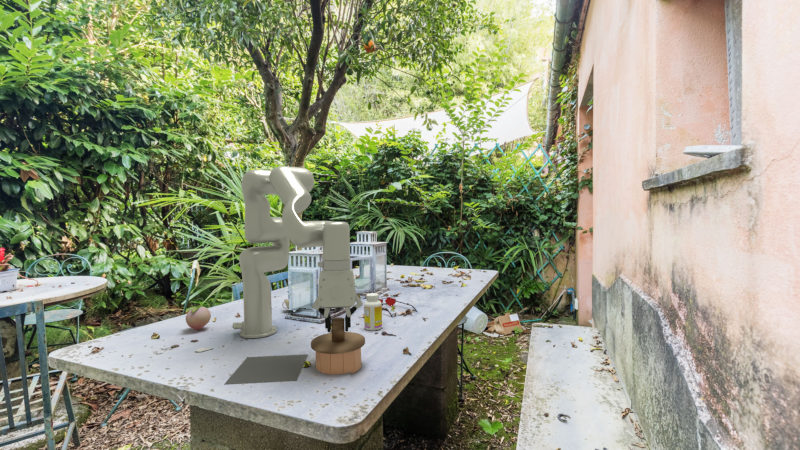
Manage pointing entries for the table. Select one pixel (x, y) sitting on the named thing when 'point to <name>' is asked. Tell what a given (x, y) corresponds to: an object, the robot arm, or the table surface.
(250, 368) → the mat
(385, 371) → the table surface
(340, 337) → the lid
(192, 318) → the decorative fruit
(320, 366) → the bowl
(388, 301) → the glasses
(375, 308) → the supplement bottle
